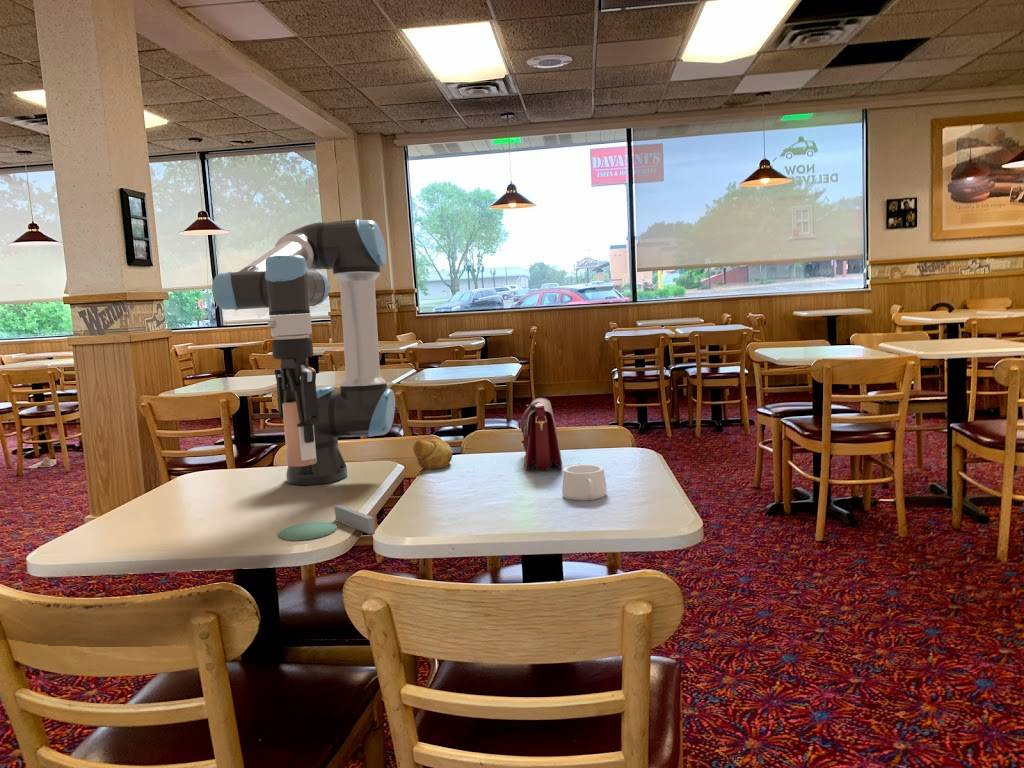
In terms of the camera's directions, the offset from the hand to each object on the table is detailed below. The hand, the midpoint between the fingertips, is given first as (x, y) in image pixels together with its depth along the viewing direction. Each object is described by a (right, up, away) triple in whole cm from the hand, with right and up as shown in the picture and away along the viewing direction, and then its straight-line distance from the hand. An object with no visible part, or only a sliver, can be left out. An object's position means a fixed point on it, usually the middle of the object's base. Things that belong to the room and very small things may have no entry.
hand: (301, 456), depth 147 cm
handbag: (+49, -7, +54) cm, 73 cm away
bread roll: (+20, -8, +57) cm, 61 cm away
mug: (+57, -11, +17) cm, 60 cm away
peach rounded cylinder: (0, -1, 0) cm, 1 cm away
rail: (+9, -14, +4) cm, 17 cm away
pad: (+1, -15, +2) cm, 15 cm away
